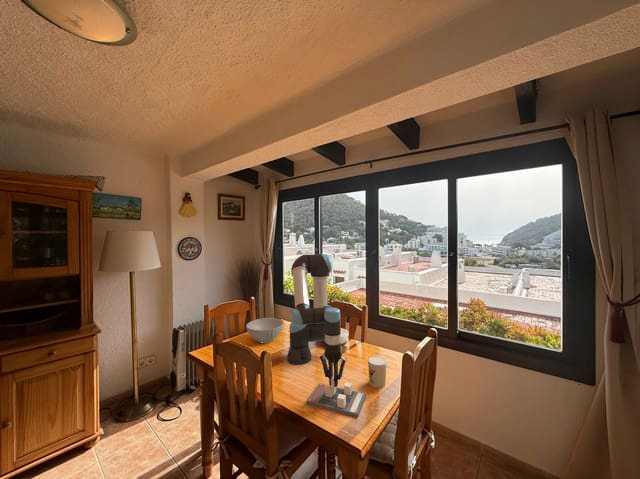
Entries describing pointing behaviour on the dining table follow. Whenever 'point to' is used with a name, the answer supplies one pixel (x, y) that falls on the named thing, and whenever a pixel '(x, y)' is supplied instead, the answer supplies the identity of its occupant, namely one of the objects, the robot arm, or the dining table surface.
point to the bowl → (344, 335)
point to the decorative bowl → (264, 329)
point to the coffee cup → (377, 372)
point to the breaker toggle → (328, 391)
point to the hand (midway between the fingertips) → (333, 392)
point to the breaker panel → (338, 400)
